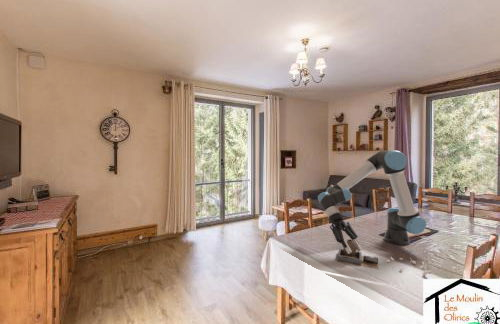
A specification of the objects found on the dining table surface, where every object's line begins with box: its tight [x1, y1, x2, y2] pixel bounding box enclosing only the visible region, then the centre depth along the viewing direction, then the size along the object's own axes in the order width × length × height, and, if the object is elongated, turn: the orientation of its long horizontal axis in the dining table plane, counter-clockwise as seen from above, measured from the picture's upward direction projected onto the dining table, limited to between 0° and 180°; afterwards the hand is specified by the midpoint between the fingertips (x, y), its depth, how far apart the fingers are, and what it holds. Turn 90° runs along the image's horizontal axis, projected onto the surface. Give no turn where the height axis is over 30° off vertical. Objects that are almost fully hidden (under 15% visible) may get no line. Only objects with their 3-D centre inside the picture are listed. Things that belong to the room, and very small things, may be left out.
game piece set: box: [386, 256, 432, 277], centre depth 128 cm, size 19×20×4 cm
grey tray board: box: [336, 248, 379, 266], centre depth 134 cm, size 20×12×3 cm, turn 65°
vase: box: [342, 239, 358, 257], centre depth 136 cm, size 7×7×9 cm
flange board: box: [337, 254, 379, 270], centre depth 134 cm, size 20×14×1 cm
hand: (355, 251), depth 133 cm, fingers closed on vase, 7 cm apart
